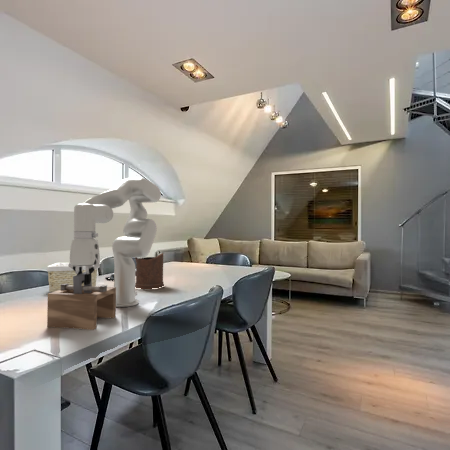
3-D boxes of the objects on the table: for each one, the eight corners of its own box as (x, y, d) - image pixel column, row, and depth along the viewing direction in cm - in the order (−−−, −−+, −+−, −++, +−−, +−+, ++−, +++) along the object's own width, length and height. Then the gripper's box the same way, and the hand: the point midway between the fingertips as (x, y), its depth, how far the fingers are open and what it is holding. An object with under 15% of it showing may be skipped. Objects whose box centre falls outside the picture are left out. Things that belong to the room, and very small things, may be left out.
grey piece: (86, 291, 124) (85, 271, 123) (91, 292, 123) (91, 272, 123) (73, 297, 116) (73, 276, 115) (79, 298, 115) (79, 276, 115)
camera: (111, 279, 215) (111, 273, 215) (120, 280, 209) (120, 274, 209) (104, 280, 211) (104, 273, 211) (114, 282, 205) (114, 275, 205)
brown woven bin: (161, 290, 179) (162, 246, 179) (119, 289, 180) (120, 246, 180) (167, 284, 198) (168, 244, 198) (130, 283, 198) (130, 244, 198)
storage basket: (45, 293, 169) (45, 265, 169) (55, 287, 185) (56, 262, 185) (92, 291, 173) (92, 265, 173) (98, 286, 189) (98, 261, 189)
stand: (74, 314, 129) (75, 280, 129) (115, 316, 126) (116, 282, 127) (47, 326, 113) (47, 288, 113) (93, 329, 111) (94, 290, 111)
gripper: (109, 236, 123) (108, 283, 123) (71, 235, 125) (70, 281, 125) (98, 236, 115) (98, 286, 115) (59, 236, 117) (58, 285, 117)
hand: (83, 283), depth 120 cm, fingers closed on grey piece, 2 cm apart
